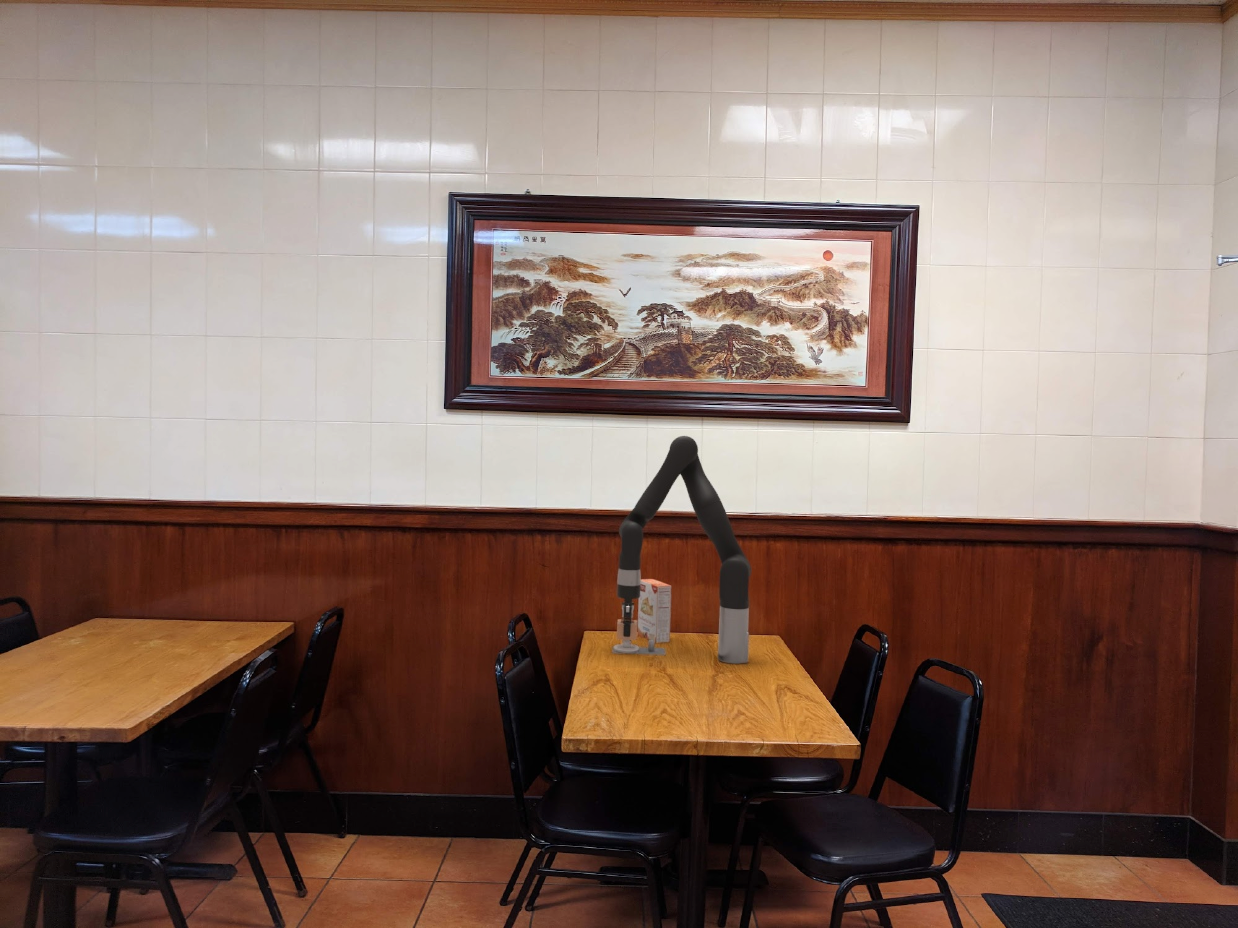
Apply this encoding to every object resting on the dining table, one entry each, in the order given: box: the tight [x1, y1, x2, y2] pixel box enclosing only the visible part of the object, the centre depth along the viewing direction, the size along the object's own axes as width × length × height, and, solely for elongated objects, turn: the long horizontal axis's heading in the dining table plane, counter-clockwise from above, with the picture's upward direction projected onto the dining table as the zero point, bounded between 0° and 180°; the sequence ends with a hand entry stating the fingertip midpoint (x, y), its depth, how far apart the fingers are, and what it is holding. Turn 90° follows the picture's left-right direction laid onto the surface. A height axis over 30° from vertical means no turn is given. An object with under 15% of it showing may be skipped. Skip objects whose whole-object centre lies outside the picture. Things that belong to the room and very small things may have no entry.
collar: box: [616, 618, 638, 641], centre depth 264 cm, size 6×6×5 cm
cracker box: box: [637, 578, 672, 644], centre depth 282 cm, size 14×6×21 cm, turn 25°
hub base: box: [612, 639, 667, 656], centre depth 264 cm, size 17×9×6 cm, turn 89°
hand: (626, 633), depth 264 cm, fingers closed on collar, 6 cm apart
